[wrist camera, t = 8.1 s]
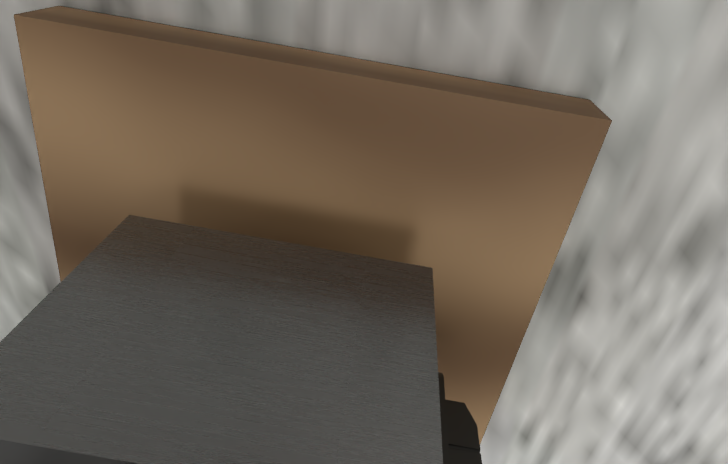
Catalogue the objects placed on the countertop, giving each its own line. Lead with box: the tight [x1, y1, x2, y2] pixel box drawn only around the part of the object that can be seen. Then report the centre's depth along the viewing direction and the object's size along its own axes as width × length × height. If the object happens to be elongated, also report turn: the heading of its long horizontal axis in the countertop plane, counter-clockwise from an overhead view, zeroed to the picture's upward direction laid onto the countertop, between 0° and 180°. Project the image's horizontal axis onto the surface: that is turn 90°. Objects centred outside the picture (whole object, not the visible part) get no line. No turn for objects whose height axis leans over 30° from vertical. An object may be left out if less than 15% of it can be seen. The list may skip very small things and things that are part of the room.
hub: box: [0, 215, 443, 464], centre depth 9 cm, size 6×6×5 cm
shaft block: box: [14, 6, 612, 444], centre depth 11 cm, size 12×12×8 cm
